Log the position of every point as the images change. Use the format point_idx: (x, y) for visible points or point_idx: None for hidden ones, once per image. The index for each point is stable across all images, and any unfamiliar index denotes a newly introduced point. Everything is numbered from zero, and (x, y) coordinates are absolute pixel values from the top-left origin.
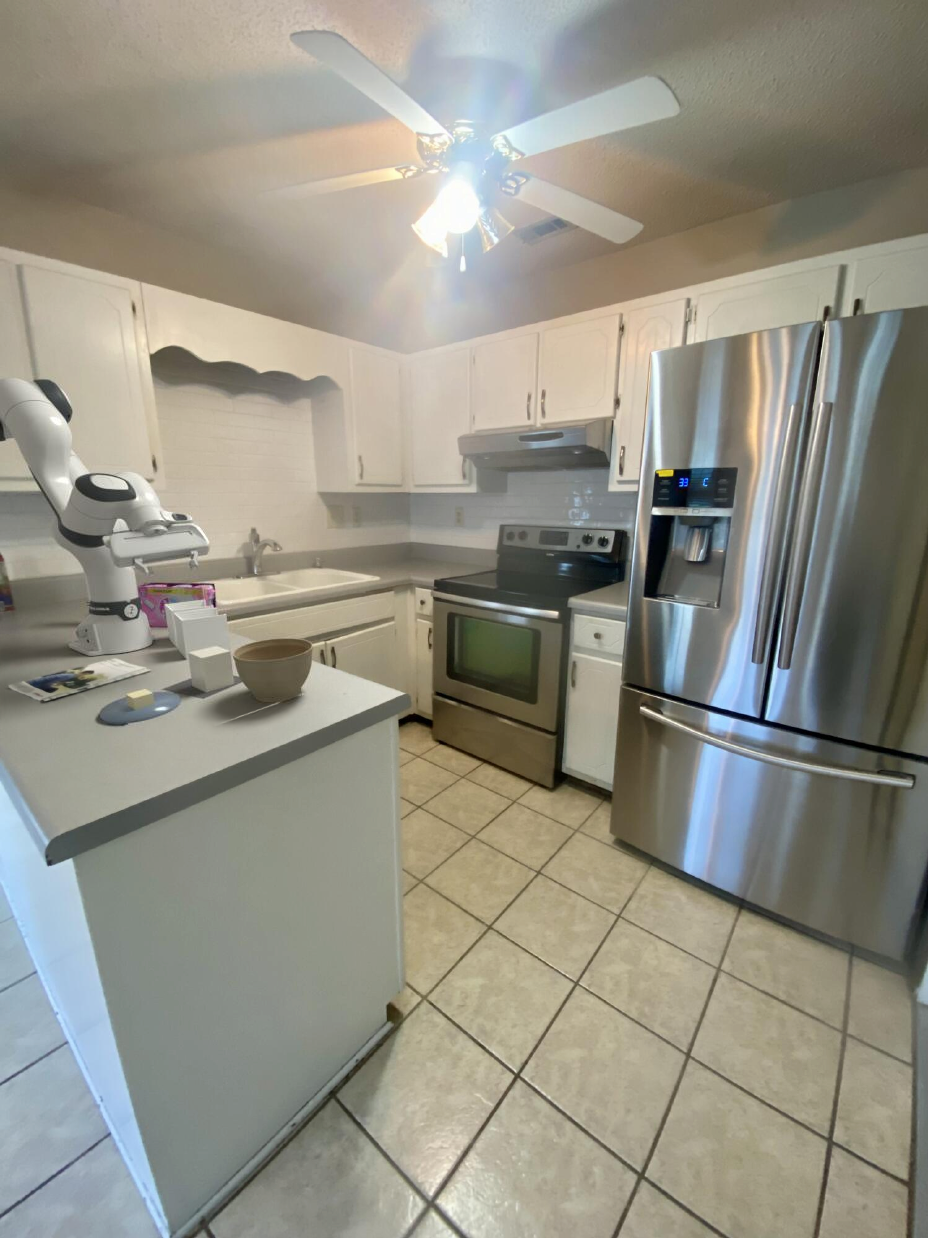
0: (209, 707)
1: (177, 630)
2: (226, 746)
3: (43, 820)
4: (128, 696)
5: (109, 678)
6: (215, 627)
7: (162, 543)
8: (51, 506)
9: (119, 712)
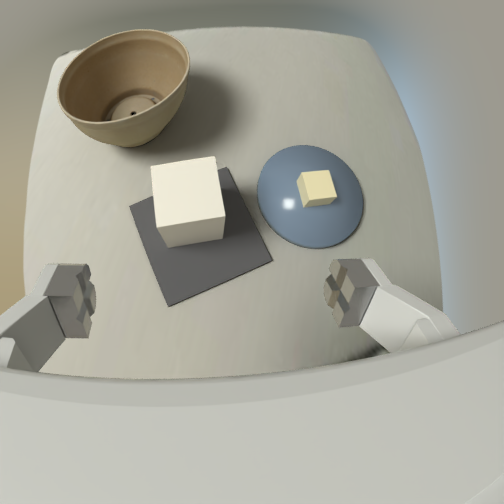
0: (228, 138)
1: None
2: (249, 48)
3: (377, 55)
4: (333, 188)
5: None
6: None
7: (261, 499)
8: None
9: (341, 185)
